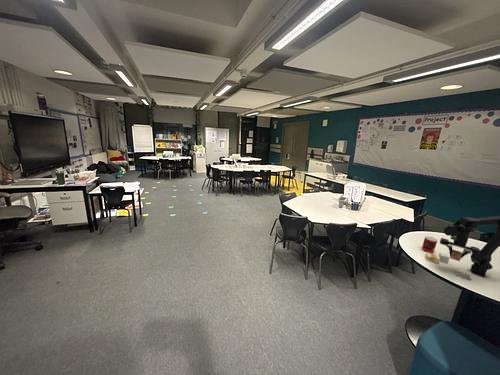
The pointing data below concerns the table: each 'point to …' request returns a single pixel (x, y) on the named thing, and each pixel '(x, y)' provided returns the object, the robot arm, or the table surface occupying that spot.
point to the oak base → (432, 258)
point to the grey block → (443, 258)
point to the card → (463, 275)
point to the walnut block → (456, 255)
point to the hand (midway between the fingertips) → (455, 257)
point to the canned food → (429, 244)
